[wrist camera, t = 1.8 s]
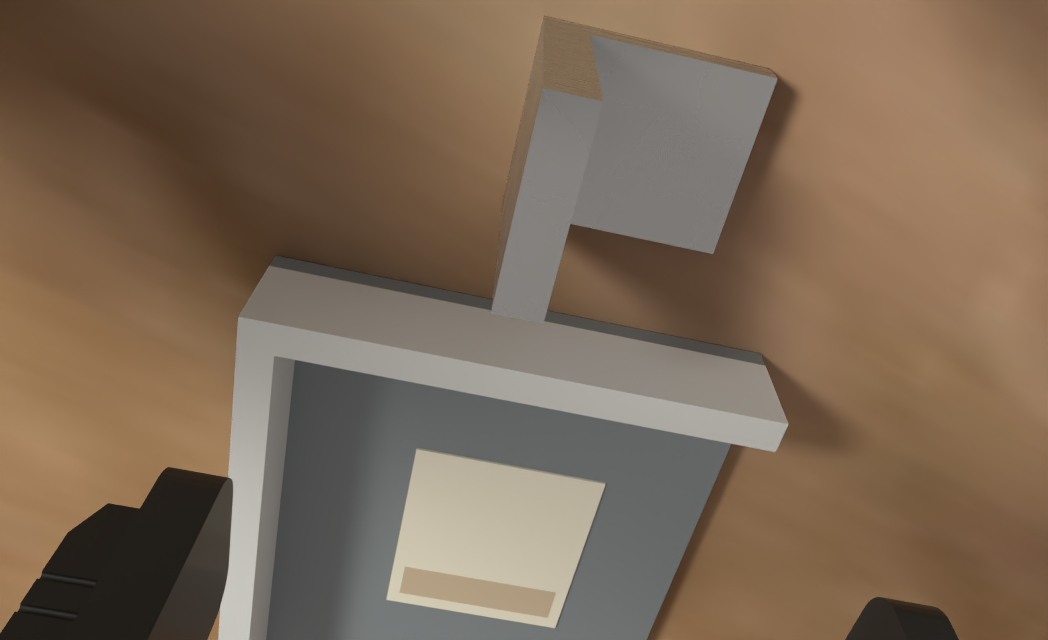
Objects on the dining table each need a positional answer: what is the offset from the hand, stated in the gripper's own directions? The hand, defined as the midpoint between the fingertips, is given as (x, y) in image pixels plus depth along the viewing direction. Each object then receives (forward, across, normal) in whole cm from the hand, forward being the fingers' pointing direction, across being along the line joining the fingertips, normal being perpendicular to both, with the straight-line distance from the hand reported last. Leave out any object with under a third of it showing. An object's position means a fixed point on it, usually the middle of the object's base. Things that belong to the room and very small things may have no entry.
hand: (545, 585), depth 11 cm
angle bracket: (+20, -3, 0) cm, 20 cm away
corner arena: (+20, -1, +17) cm, 26 cm away
